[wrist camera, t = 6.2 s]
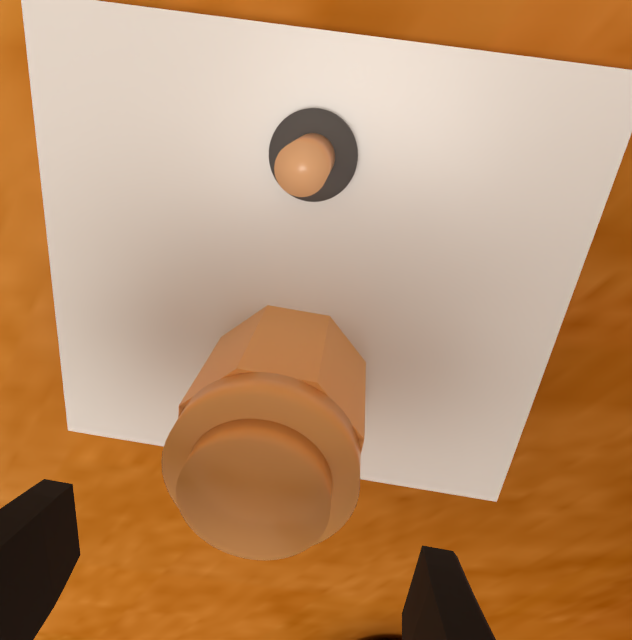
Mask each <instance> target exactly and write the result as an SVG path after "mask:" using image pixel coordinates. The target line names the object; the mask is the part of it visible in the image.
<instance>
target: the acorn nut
mask: <svg viewBox="0 0 632 640" xmlns="http://www.w3.org/2000/svg"><path fill="white" fill-rule="evenodd" d="M365 385H366V362H365V360H364V359H363V358H362V356H361V355H360V354H359V353H358V351H357V350H356V349H355V347H354V346H353V345H352V344H351V342H350V341H349V340H348V338H347V337H346V336H345V335H344V333H343V332H342V331H341V330H340V328H339V327H338V326H337V324H336V323H335V322H334V321H333V319H332V318H331V317H330V316H328V315H322V314H316V313H311V312H305V311H299V310H293V309H287V308H282V307H276V306H270V305H267V306H266V307H264V308H263V309H261V310H260V311H258V312H257V313H255V314H254V315H252V316H251V317H250V318H248V319H247V320H245V321H244V322H242V323H241V324H239V325H238V326H236V327H235V328H233V329H232V330H230V331H229V332H228V333H226V334H225V335H223V336H222V337H221V338H220V340H219V341H218V343H217V344H216V346H215V348H214V349H213V351H212V353H211V354H210V356H209V357H208V359H207V361H206V362H205V364H204V366H203V367H202V369H201V370H200V372H199V374H198V375H197V377H196V379H195V380H194V382H193V383H192V385H191V387H190V388H189V390H188V392H187V393H186V395H185V396H184V398H183V400H182V401H181V403H180V404H179V414H178V419H177V421H176V423H175V424H174V426H173V428H172V430H171V431H170V433H169V435H168V437H167V439H166V441H165V445H164V448H163V452H162V473H163V477H164V482H165V484H166V487H167V490H168V492H169V494H170V496H171V498H172V499H173V501H174V503H175V504H176V505H177V507H178V508H179V509H180V512H181V514H182V516H183V518H184V520H185V521H186V522H187V524H188V525H189V527H190V528H191V529H192V530H193V531H194V532H195V533H196V534H197V535H198V536H199V537H200V538H202V539H203V540H204V541H206V542H207V543H209V544H210V545H212V546H213V547H215V548H217V549H219V550H221V551H223V552H226V553H228V554H231V555H234V556H237V557H241V558H246V559H253V560H277V559H283V558H287V557H291V556H294V555H296V554H299V553H301V552H303V551H305V550H306V549H308V548H309V547H311V546H313V545H315V544H318V543H320V542H322V541H324V540H325V539H327V538H329V537H330V536H332V535H333V534H334V533H336V532H337V531H338V530H339V529H340V528H341V527H342V526H343V525H344V524H345V523H346V522H347V520H348V519H349V518H350V516H351V515H352V513H353V511H354V509H355V507H356V504H357V501H358V497H359V490H360V466H361V451H362V447H363V443H364V436H365Z"/></svg>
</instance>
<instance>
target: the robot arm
mask: <svg viewBox="0 0 632 640" xmlns="http://www.w3.org/2000/svg"><path fill="white" fill-rule="evenodd" d="M79 556H80V548H79V539H78V530H77V520H76V511H75V502H74V493H73V484H68V483H63V482H57V481H51V480H46V479H44V480H42V481H41V482H39V483H38V484H36V485H35V486H33V487H32V488H30V489H29V490H27V491H26V492H24V493H23V494H21V495H20V496H18V497H17V498H16V499H14V500H13V501H11V502H10V503H8V504H7V505H5V506H4V507H2V508H1V509H0V640H33V639H34V638H35V636H36V635H37V633H38V631H39V630H40V628H41V627H42V625H43V624H44V622H45V620H46V619H47V617H48V616H49V614H50V612H51V611H52V609H53V608H54V606H55V604H56V602H57V600H58V598H59V596H60V594H61V593H62V591H63V589H64V587H65V585H66V583H67V581H68V579H69V577H70V575H71V573H72V571H73V568H74V566H75V564H76V562H77V560H78V558H79ZM402 640H496V639H495V637H494V635H493V633H492V631H491V629H490V627H489V625H488V623H487V621H486V619H485V617H484V615H483V613H482V611H481V609H480V606H479V604H478V602H477V600H476V598H475V596H474V594H473V592H472V589H471V587H470V585H469V583H468V581H467V578H466V576H465V574H464V571H463V569H462V567H461V565H460V562H459V560H458V557H457V556H456V554H455V553H454V552H453V551H450V550H444V549H438V548H432V547H427V546H422V548H421V552H420V555H419V558H418V562H417V565H416V569H415V572H414V575H413V579H412V582H411V585H410V589H409V592H408V595H407V599H406V602H405V606H404V609H403V612H402Z"/></svg>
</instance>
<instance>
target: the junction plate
mask: <svg viewBox="0 0 632 640" xmlns="http://www.w3.org/2000/svg"><path fill="white" fill-rule="evenodd" d="M21 3H22V12H23V21H24V30H25V40H26V49H27V58H28V67H29V76H30V85H31V95H32V104H33V113H34V122H35V131H36V140H37V150H38V159H39V168H40V177H41V186H42V195H43V205H44V214H45V223H46V232H47V241H48V250H49V260H50V269H51V278H52V287H53V296H54V305H55V315H56V324H57V333H58V342H59V351H60V360H61V370H62V379H63V388H64V397H65V406H66V415H67V425H68V431H74V432H80V433H86V434H92V435H98V436H104V437H110V438H116V439H122V440H128V441H134V442H140V443H146V444H152V445H158V446H164V445H165V441H166V439H167V437H168V435H169V433H170V431H171V430H172V428H173V426H174V424H175V423H176V421H177V419H178V414H179V404H180V403H181V401H182V400H183V398H184V396H185V395H186V393H187V392H188V390H189V388H190V387H191V385H192V383H193V382H194V380H195V379H196V377H197V375H198V374H199V372H200V370H201V369H202V367H203V366H204V364H205V362H206V361H207V359H208V357H209V356H210V354H211V353H212V351H213V349H214V348H215V346H216V344H217V343H218V341H219V340H220V338H221V337H222V336H223V335H225V334H226V333H228V332H229V331H230V330H232V329H233V328H235V327H236V326H238V325H239V324H241V323H242V322H244V321H245V320H247V319H248V318H250V317H251V316H252V315H254V314H255V313H257V312H258V311H260V310H261V309H263V308H264V307H266V306H267V305H270V306H276V307H282V308H287V309H293V310H299V311H305V312H311V313H316V314H322V315H328V316H330V317H331V318H332V319H333V321H334V322H335V323H336V324H337V326H338V327H339V328H340V330H341V331H342V332H343V333H344V335H345V336H346V337H347V338H348V340H349V341H350V342H351V344H352V345H353V346H354V347H355V349H356V350H357V351H358V353H359V354H360V355H361V356H362V358H363V359H364V360H365V362H366V385H365V436H364V443H363V447H362V451H361V466H360V479H363V480H369V481H375V482H381V483H387V484H393V485H399V486H405V487H411V488H417V489H423V490H429V491H435V492H441V493H447V494H453V495H459V496H465V497H471V498H477V499H483V500H489V501H495V502H497V499H498V496H499V494H500V491H501V488H502V486H503V483H504V480H505V477H506V475H507V472H508V469H509V466H510V464H511V461H512V458H513V455H514V453H515V450H516V447H517V445H518V442H519V439H520V436H521V434H522V431H523V428H524V425H525V423H526V420H527V417H528V414H529V412H530V409H531V406H532V404H533V401H534V398H535V395H536V393H537V390H538V387H539V384H540V382H541V379H542V376H543V374H544V371H545V368H546V365H547V363H548V360H549V357H550V354H551V352H552V349H553V346H554V343H555V341H556V338H557V335H558V333H559V330H560V327H561V324H562V322H563V319H564V316H565V313H566V311H567V308H568V305H569V302H570V300H571V297H572V294H573V292H574V289H575V286H576V283H577V281H578V278H579V275H580V272H581V270H582V267H583V264H584V261H585V259H586V256H587V253H588V251H589V248H590V245H591V242H592V240H593V237H594V234H595V231H596V229H597V226H598V223H599V221H600V218H601V215H602V212H603V210H604V207H605V204H606V201H607V199H608V196H609V193H610V190H611V188H612V185H613V182H614V180H615V177H616V174H617V171H618V169H619V166H620V163H621V160H622V158H623V155H624V152H625V149H626V147H627V144H628V141H629V139H630V136H631V133H632V70H628V69H621V68H613V67H605V66H598V65H590V64H582V63H575V62H567V61H559V60H551V59H544V58H536V57H528V56H521V55H513V54H505V53H497V52H490V51H482V50H474V49H467V48H459V47H451V46H444V45H436V44H428V43H420V42H413V41H405V40H397V39H390V38H382V37H374V36H367V35H359V34H351V33H343V32H336V31H328V30H320V29H313V28H305V27H297V26H290V25H282V24H274V23H266V22H259V21H251V20H243V19H236V18H228V17H220V16H213V15H205V14H197V13H189V12H182V11H174V10H166V9H159V8H151V7H143V6H135V5H128V4H120V3H112V2H105V1H97V0H21Z"/></svg>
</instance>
